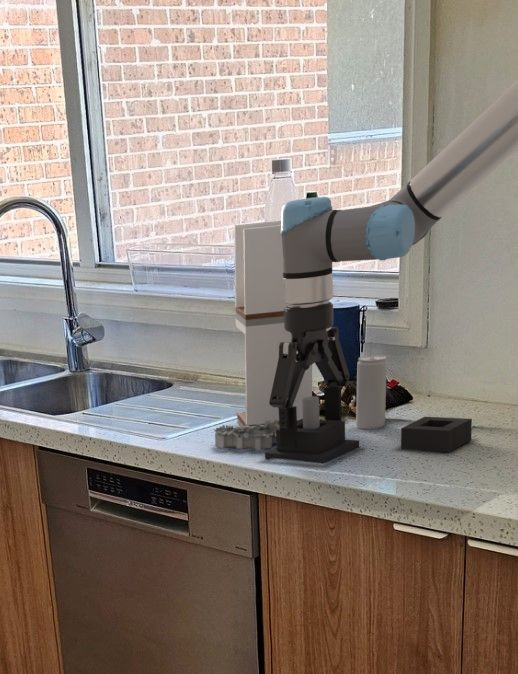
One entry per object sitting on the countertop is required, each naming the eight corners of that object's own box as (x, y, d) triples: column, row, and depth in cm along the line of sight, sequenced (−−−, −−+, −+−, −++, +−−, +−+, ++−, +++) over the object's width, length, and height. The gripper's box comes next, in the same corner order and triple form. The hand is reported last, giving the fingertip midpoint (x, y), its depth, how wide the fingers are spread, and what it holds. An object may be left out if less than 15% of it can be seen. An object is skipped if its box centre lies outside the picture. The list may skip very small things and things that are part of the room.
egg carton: (285, 443, 211) (285, 419, 210) (265, 453, 206) (265, 429, 204) (229, 439, 218) (229, 416, 216) (209, 449, 212) (208, 426, 211)
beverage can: (356, 431, 211) (358, 361, 206) (355, 425, 215) (356, 356, 210) (385, 430, 210) (387, 359, 205) (384, 423, 214) (386, 354, 209)
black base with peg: (359, 449, 201) (358, 391, 197) (324, 466, 194) (322, 407, 190) (300, 445, 208) (299, 389, 204) (264, 461, 201) (262, 404, 198)
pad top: (471, 440, 196) (472, 418, 195) (448, 452, 192) (448, 430, 190) (424, 437, 202) (424, 416, 201) (400, 449, 197) (400, 428, 196)
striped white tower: (299, 418, 226) (299, 218, 212) (311, 430, 217) (313, 222, 202) (237, 423, 227) (234, 225, 213) (247, 436, 217) (244, 229, 203)
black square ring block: (345, 441, 200) (345, 420, 199) (319, 454, 195) (319, 432, 194) (302, 439, 206) (302, 418, 204) (276, 450, 201) (275, 430, 199)
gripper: (328, 290, 202) (331, 417, 210) (242, 318, 186) (249, 454, 195) (370, 289, 196) (371, 419, 205) (285, 317, 181) (290, 457, 190)
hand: (311, 436), depth 200 cm, fingers open, 13 cm apart
